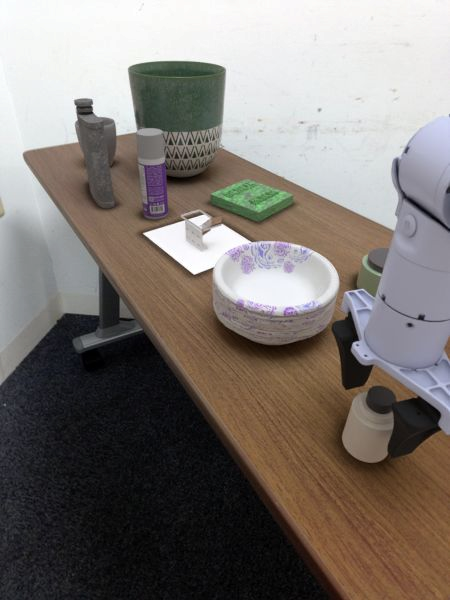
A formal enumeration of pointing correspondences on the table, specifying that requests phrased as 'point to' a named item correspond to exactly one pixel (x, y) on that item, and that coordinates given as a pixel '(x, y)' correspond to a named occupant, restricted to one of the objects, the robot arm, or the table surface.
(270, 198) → the green jade tablet
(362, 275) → the green jar
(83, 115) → the flask
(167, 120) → the planter
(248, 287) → the paper bowls
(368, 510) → the table surface
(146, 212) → the container
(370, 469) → the table surface
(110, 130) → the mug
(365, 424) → the small bottle
